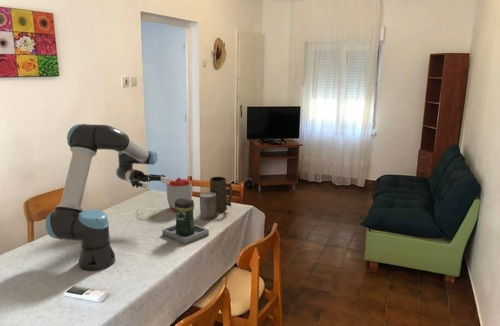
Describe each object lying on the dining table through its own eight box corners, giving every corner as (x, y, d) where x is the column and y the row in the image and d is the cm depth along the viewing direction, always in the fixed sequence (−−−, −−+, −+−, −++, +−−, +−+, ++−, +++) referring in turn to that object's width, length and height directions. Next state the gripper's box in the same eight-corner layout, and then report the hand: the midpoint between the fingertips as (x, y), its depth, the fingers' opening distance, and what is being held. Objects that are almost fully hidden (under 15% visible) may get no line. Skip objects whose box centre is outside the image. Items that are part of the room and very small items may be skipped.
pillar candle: (219, 214, 237) (218, 190, 234) (213, 220, 228) (212, 195, 224) (203, 213, 239) (202, 189, 236) (197, 219, 230) (196, 194, 227)
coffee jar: (197, 231, 209) (196, 198, 205) (189, 237, 202) (188, 202, 198) (181, 228, 213) (180, 195, 209) (173, 234, 206) (171, 200, 202)
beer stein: (205, 210, 243) (207, 179, 238) (212, 205, 253) (213, 175, 248) (229, 215, 239) (231, 183, 234) (235, 209, 249) (237, 178, 244)
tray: (184, 244, 196) (184, 239, 195) (162, 234, 208) (162, 229, 207) (208, 235, 208) (208, 229, 207) (186, 226, 219) (186, 221, 219)
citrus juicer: (190, 202, 258) (189, 172, 254) (194, 211, 242) (193, 179, 237) (165, 205, 253) (164, 174, 249) (168, 214, 237) (167, 181, 233)
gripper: (154, 179, 232) (177, 185, 218) (115, 187, 214) (137, 195, 200) (154, 166, 230) (176, 172, 216) (114, 173, 212) (136, 180, 198)
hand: (157, 183), depth 208 cm, fingers open, 13 cm apart
